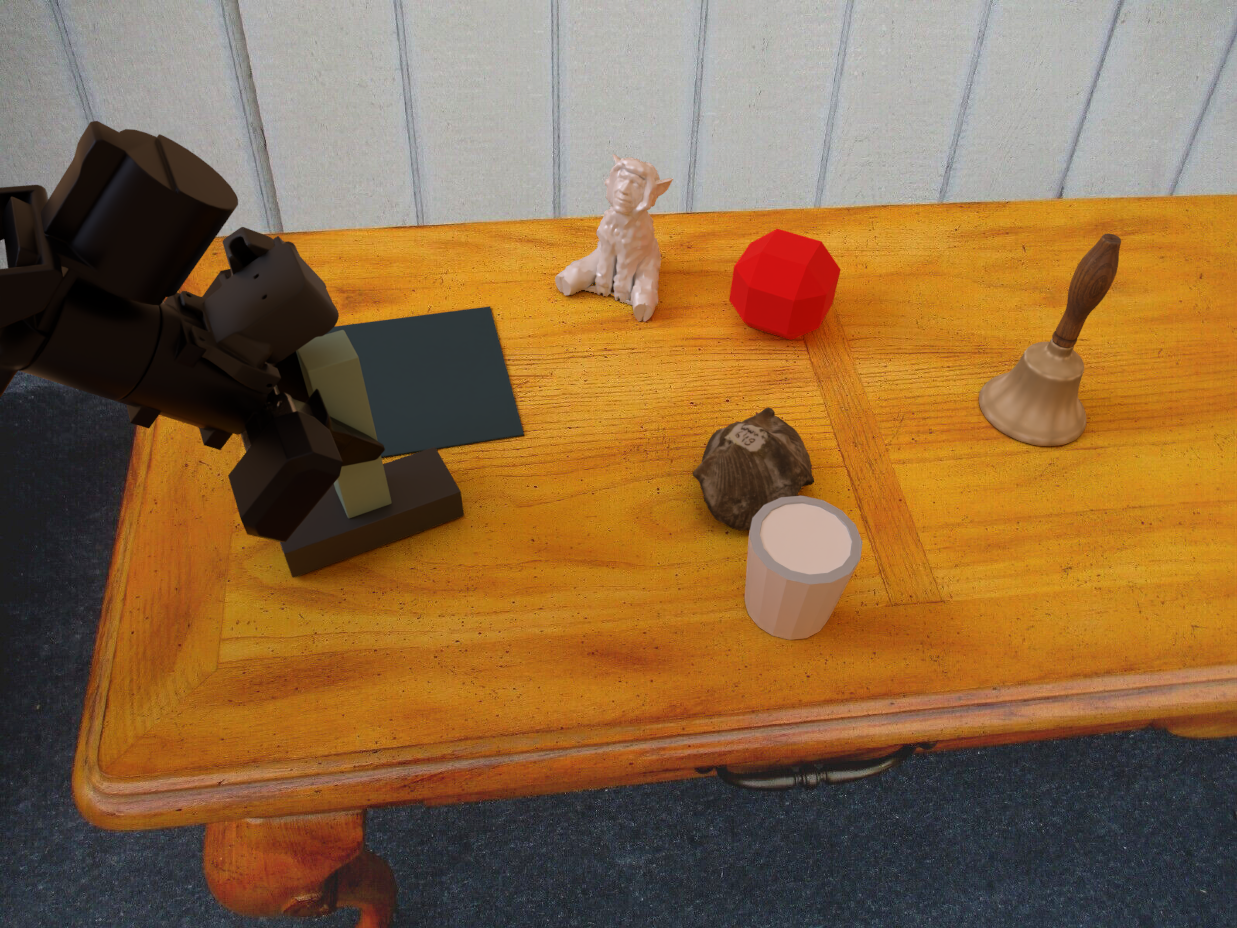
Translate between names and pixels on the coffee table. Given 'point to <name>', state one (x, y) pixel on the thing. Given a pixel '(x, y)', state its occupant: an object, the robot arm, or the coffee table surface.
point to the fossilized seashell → (752, 468)
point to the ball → (784, 284)
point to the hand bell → (1053, 364)
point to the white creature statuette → (623, 241)
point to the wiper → (364, 474)
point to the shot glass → (798, 565)
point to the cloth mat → (435, 380)
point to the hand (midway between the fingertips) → (373, 435)
